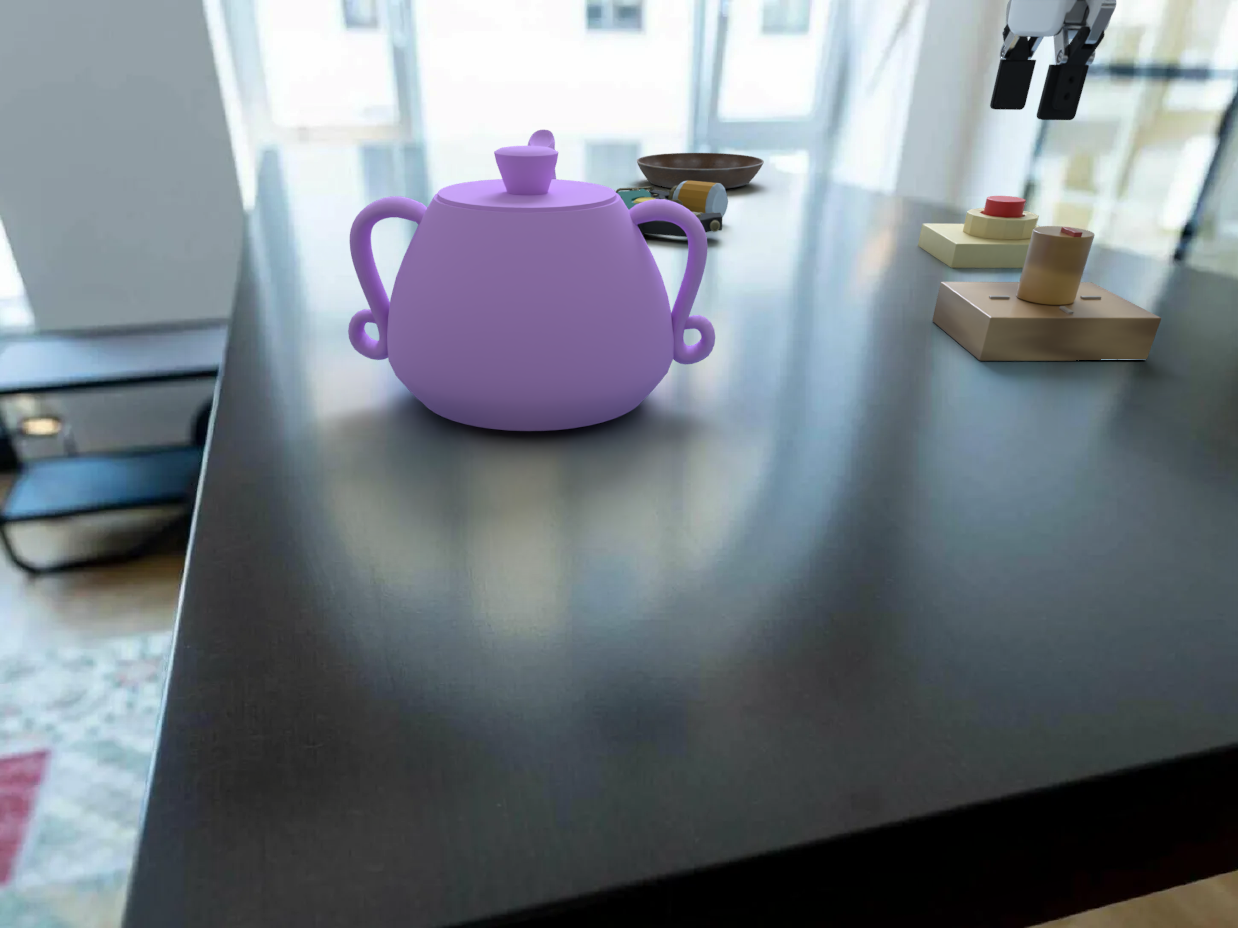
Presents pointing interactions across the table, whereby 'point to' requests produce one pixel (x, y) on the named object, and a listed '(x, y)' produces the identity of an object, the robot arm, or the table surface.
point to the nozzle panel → (1043, 324)
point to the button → (1004, 206)
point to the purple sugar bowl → (529, 298)
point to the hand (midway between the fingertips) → (1029, 114)
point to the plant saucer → (699, 168)
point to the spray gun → (693, 195)
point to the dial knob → (1054, 265)
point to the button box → (980, 240)
